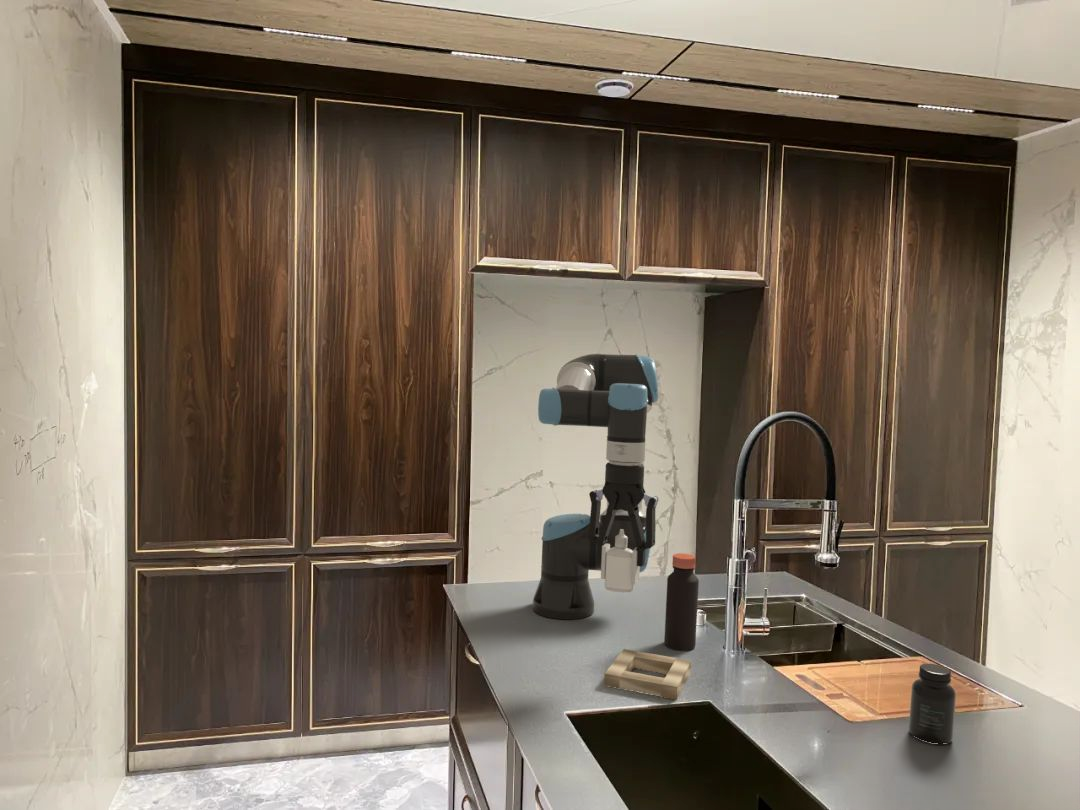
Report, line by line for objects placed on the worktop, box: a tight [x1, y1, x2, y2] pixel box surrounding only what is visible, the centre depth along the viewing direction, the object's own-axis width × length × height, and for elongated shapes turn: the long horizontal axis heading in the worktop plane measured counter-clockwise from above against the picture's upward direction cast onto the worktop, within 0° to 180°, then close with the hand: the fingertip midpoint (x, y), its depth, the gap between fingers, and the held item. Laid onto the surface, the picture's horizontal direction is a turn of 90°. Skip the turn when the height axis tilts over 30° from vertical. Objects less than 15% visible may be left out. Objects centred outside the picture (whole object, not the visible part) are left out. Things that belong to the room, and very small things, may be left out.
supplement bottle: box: [908, 663, 957, 744], centre depth 139 cm, size 7×7×12 cm
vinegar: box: [663, 552, 700, 652], centre depth 177 cm, size 7×7×20 cm
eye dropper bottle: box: [604, 529, 635, 593], centre depth 159 cm, size 4×6×12 cm
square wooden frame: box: [603, 648, 692, 701], centre depth 159 cm, size 14×14×2 cm
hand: (619, 579), depth 160 cm, fingers closed on eye dropper bottle, 6 cm apart
